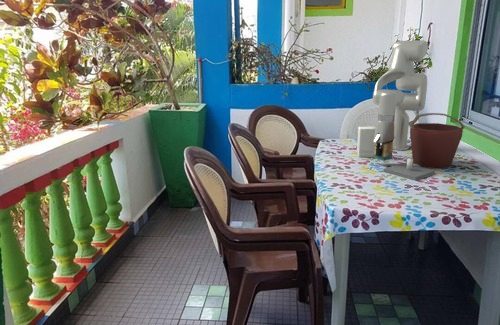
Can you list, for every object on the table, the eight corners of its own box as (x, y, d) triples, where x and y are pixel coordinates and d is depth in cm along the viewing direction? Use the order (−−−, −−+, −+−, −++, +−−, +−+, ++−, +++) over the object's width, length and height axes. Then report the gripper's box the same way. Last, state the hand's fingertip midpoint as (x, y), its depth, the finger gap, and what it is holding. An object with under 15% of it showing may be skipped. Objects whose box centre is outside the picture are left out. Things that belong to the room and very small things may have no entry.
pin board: (402, 165, 186) (404, 152, 184) (434, 173, 173) (436, 159, 172) (383, 171, 177) (384, 158, 175) (415, 180, 164) (417, 166, 163)
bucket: (402, 165, 186) (407, 114, 179) (407, 155, 205) (412, 109, 198) (458, 172, 175) (466, 118, 168) (458, 161, 194) (466, 112, 187)
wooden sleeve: (381, 156, 191) (382, 140, 189) (391, 158, 186) (393, 142, 184) (373, 158, 187) (374, 142, 185) (384, 160, 183) (385, 144, 180)
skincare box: (371, 154, 207) (374, 126, 203) (374, 157, 201) (376, 128, 196) (356, 154, 208) (358, 126, 204) (358, 157, 201) (360, 128, 197)
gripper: (390, 115, 189) (386, 150, 194) (368, 119, 179) (365, 156, 184) (403, 117, 183) (400, 153, 188) (382, 121, 173) (378, 159, 178)
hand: (383, 154), depth 186 cm, fingers closed on wooden sleeve, 6 cm apart
